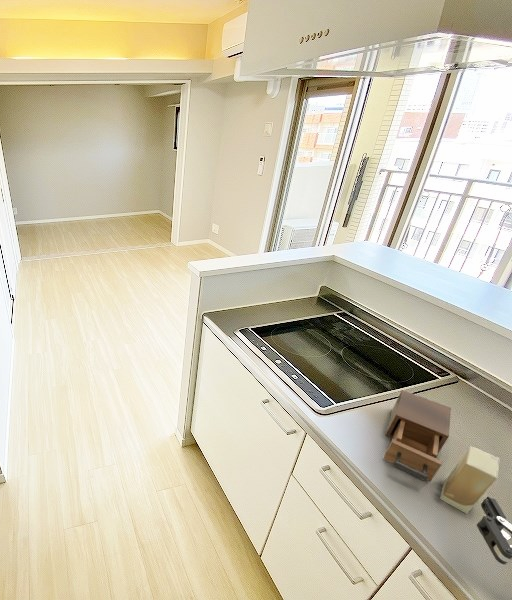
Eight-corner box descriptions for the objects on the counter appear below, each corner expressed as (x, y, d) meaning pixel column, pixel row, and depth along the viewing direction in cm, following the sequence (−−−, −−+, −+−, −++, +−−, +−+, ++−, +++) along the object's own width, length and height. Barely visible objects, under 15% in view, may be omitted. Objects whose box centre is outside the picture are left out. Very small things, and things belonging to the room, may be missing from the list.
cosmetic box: (444, 480, 73) (470, 443, 67) (471, 494, 70) (500, 457, 64) (438, 500, 69) (465, 462, 64) (467, 515, 67) (498, 478, 61)
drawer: (428, 495, 70) (440, 478, 67) (379, 470, 75) (389, 453, 72) (433, 450, 79) (444, 434, 76) (390, 431, 84) (398, 415, 81)
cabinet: (435, 458, 78) (449, 436, 74) (385, 435, 84) (395, 414, 80) (438, 428, 85) (451, 407, 82) (391, 410, 91) (402, 389, 88)
